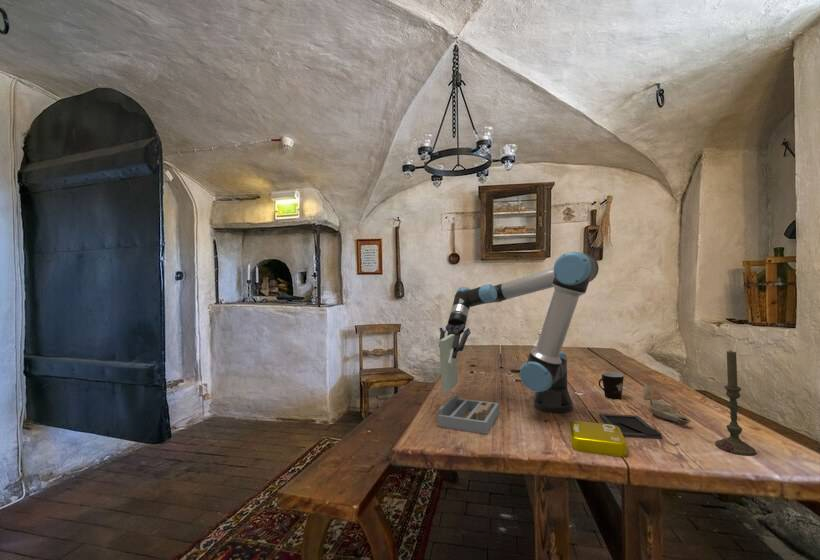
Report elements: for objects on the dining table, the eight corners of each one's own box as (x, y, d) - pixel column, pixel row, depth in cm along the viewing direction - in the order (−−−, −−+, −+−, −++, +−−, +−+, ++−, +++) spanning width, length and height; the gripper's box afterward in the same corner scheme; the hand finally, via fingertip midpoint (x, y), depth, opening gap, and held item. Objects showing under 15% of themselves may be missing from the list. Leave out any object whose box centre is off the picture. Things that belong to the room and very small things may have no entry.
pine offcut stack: (492, 418, 136) (491, 402, 136) (486, 426, 128) (486, 410, 128) (480, 416, 138) (480, 401, 138) (474, 424, 130) (474, 408, 130)
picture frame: (662, 440, 114) (638, 419, 132) (661, 434, 114) (637, 414, 132) (617, 438, 117) (599, 417, 134) (616, 432, 117) (599, 412, 134)
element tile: (569, 432, 122) (568, 418, 122) (619, 437, 117) (618, 423, 117) (572, 451, 108) (571, 435, 108) (628, 459, 103) (627, 442, 103)
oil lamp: (657, 407, 142) (656, 382, 142) (700, 429, 121) (699, 400, 121) (635, 408, 142) (635, 383, 142) (675, 430, 121) (674, 400, 121)
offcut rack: (499, 413, 140) (498, 398, 140) (486, 434, 121) (486, 416, 121) (456, 407, 148) (455, 393, 148) (437, 426, 129) (437, 410, 129)
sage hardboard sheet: (457, 382, 144) (455, 334, 144) (446, 393, 132) (444, 340, 132) (452, 382, 145) (450, 334, 144) (441, 392, 133) (439, 340, 133)
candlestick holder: (707, 442, 111) (703, 347, 111) (733, 440, 111) (730, 346, 112) (736, 456, 102) (732, 352, 102) (765, 454, 102) (761, 351, 103)
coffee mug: (618, 394, 160) (617, 372, 160) (628, 400, 151) (627, 377, 151) (591, 393, 161) (591, 372, 161) (600, 400, 152) (599, 377, 152)
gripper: (477, 323, 150) (467, 371, 135) (444, 322, 157) (431, 368, 141) (473, 311, 146) (462, 360, 130) (439, 311, 152) (425, 357, 137)
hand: (446, 364), depth 136 cm, fingers closed on sage hardboard sheet, 2 cm apart
